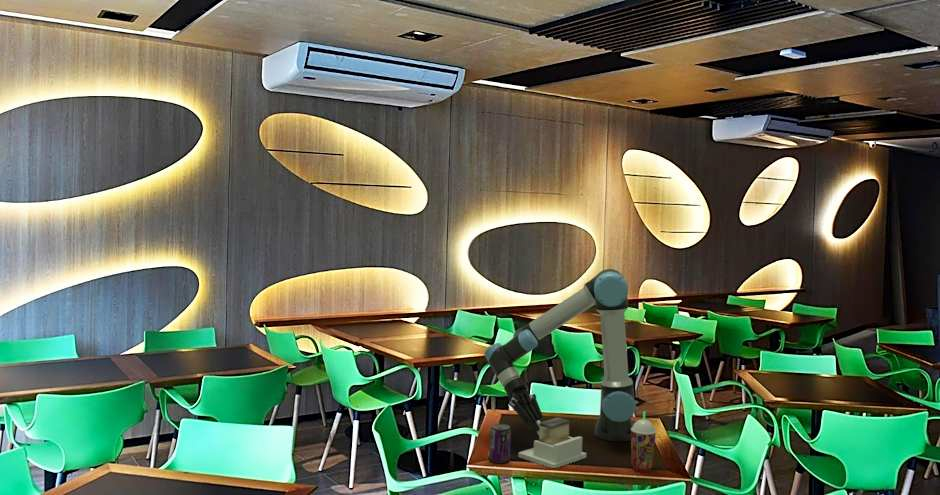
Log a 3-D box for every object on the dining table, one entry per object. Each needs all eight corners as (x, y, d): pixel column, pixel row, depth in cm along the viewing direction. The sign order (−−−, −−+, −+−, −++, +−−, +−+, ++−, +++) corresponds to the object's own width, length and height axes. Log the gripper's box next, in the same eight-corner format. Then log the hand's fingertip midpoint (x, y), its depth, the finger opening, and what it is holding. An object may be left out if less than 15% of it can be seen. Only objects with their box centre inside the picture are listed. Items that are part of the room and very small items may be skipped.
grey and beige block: (538, 453, 276) (539, 422, 275) (556, 447, 283) (558, 417, 282) (550, 457, 272) (551, 426, 272) (568, 451, 280) (569, 420, 279)
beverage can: (508, 465, 269) (509, 430, 268) (487, 463, 271) (488, 428, 270) (511, 458, 276) (512, 424, 275) (491, 456, 278) (492, 422, 277)
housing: (518, 456, 278) (519, 435, 277) (551, 445, 290) (551, 425, 290) (553, 469, 266) (554, 447, 266) (586, 457, 279) (587, 436, 278)
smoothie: (649, 475, 263) (652, 416, 261) (625, 470, 267) (628, 412, 266) (657, 468, 270) (660, 410, 268) (634, 463, 274) (636, 406, 273)
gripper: (518, 385, 297) (551, 439, 287) (494, 390, 288) (527, 447, 278) (529, 374, 293) (563, 429, 283) (505, 379, 284) (539, 436, 273)
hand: (545, 438), depth 280 cm, fingers closed
